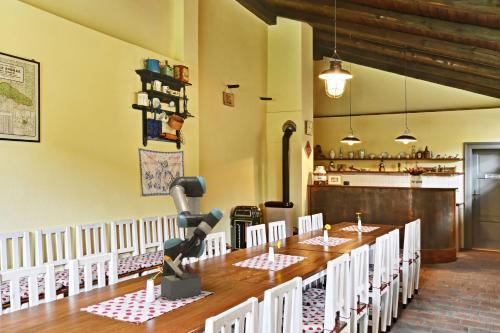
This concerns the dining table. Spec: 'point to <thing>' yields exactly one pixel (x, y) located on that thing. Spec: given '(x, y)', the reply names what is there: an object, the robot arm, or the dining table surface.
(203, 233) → the robot arm
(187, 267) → the vegetable
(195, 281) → the box
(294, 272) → the dining table surface
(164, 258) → the lever
